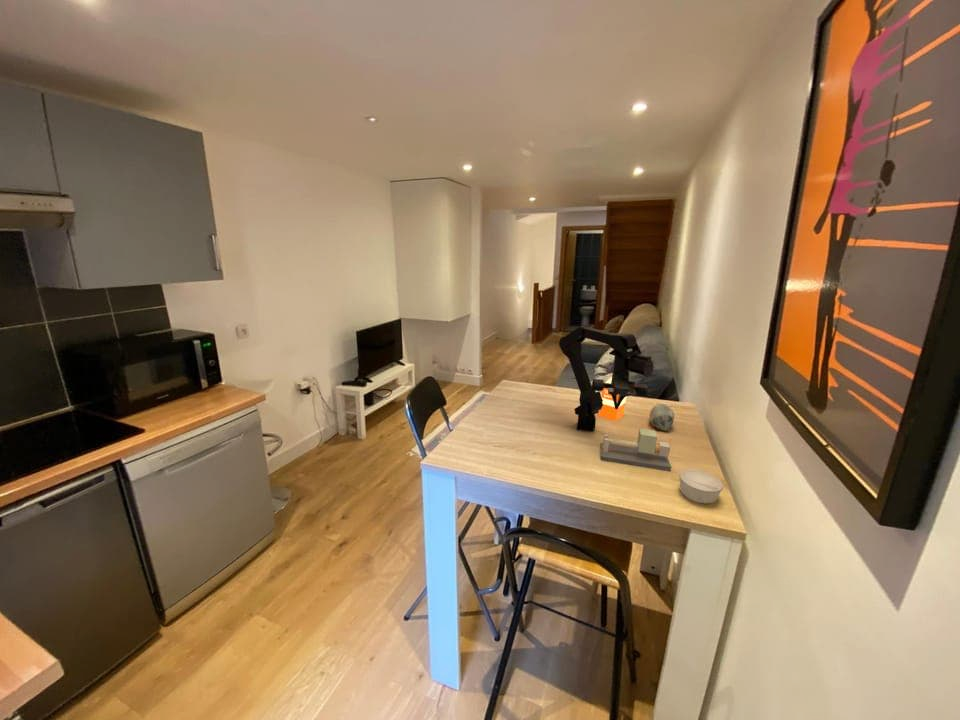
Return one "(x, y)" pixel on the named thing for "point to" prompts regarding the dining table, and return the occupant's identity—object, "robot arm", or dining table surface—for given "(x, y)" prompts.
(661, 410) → the grey rounded oval lump
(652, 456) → the cord board
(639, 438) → the matte sage green cube
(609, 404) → the orange juice
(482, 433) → the dining table surface
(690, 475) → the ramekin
